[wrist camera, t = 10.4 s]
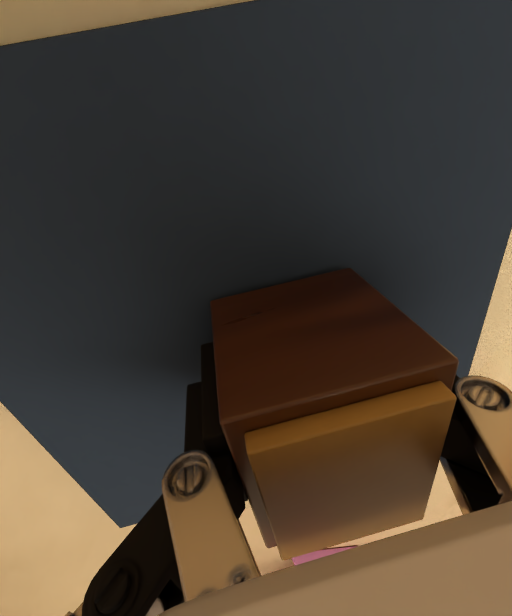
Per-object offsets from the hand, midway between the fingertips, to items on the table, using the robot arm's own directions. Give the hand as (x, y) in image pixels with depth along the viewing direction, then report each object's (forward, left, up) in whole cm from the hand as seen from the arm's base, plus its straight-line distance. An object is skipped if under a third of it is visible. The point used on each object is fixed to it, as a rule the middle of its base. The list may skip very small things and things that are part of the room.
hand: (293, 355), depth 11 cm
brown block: (0, 0, 0) cm, 0 cm away
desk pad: (0, -1, -1) cm, 2 cm away
